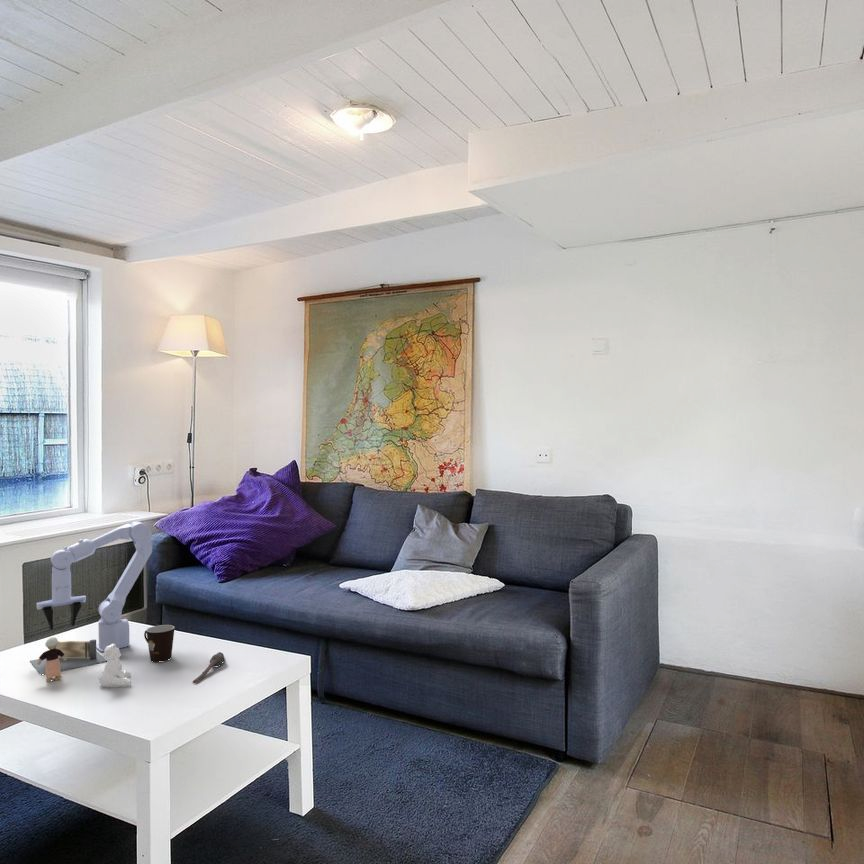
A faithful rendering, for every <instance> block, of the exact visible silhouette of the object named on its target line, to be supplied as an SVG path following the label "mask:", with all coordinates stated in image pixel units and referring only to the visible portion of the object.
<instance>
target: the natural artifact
mask: <svg viewBox="0 0 864 864" xmlns="http://www.w3.org/2000/svg"><path fill="white" fill-rule="evenodd" d="M225 658H226V657H225V655H224V653H223V652H221V651H219V652H217V653H216V654H213V655H212V656H211V658H210V660H209V664H208V666H207V667H206V668H205V669H204V670H203V671H202V672H201V674H199V675H198V676H197V677H196V678H195V679H193V681H192V684H193V683H196V684H197V683H199V682H200V681H201V680H202V679H204V678H205V676H206V675H207V674H208V673H209V672H210V670H212V668H214V667H213V666H219V665H223V664H222V662H224V663H225ZM219 667H220V666H219ZM199 680H200V681H199Z"/></svg>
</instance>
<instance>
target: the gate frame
mask: <svg viewBox="0 0 864 864" xmlns="http://www.w3.org/2000/svg"><path fill="white" fill-rule="evenodd" d="M89 641H90V657H89V658H70V657H66V658H67V660H66V661H63V659H62V657H58V658H59V661H60V670H61V672H64V671H63V670H65V671H68V670H69V669H70V670H74V669H78V668H83V666H84V667H87V665H88V666H93V665H96V663H98V664H101V663H100V662H102V663H106V661H108V659H107V658H105V656H103V655H101V653H100V652H98V651H97V648H96V645H97V639H91V640H89ZM46 659H47V658H46ZM46 659H44V660H42V662H41V664H40V665H38V664H37V662H38V660H39V658H38V659H33V660H29V662H30V664H31V663H32V664H31V665H32V666H33V667H34V669H35V668H36V669H37V670H38V671H37V670H36V669H35V670H36V671H37V672H38V674H39V673H40V674H41V675H40V674H39V675H40V676H43V675H42V674H46ZM92 664H93V665H92Z"/></svg>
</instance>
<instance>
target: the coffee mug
mask: <svg viewBox="0 0 864 864" xmlns="http://www.w3.org/2000/svg"><path fill="white" fill-rule="evenodd" d="M174 635H175V626H174V625H171V624H160V625H153V626H151V627H148V628H147V629H146V630H145V631H144V634H143V637H144V640H145V641H146V643H147V646H148V653H149V659H150V660H151V661H153V662H152V663H160V662H159V661H165V660H168V659H170V658H171V659H172V654H173V647H174V646H173V644H174ZM171 659H170V660H171ZM150 660H149V661H150ZM151 661H150V662H151ZM168 661H169V660H168ZM165 662H166V661H165Z"/></svg>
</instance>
